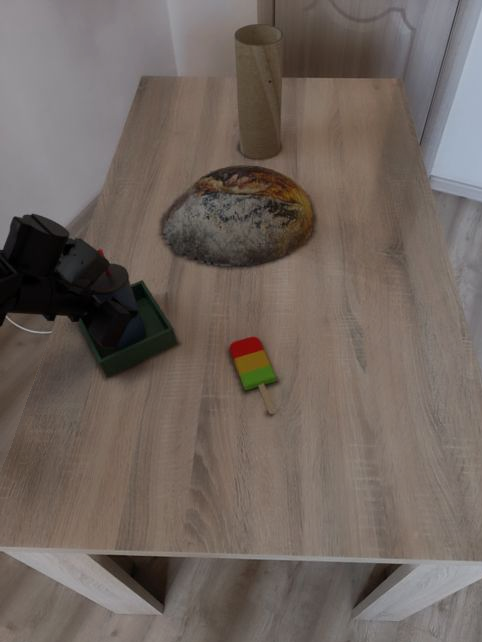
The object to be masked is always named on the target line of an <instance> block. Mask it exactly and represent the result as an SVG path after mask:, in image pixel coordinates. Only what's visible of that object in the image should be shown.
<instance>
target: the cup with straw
mask: <svg viewBox="0 0 482 642" xmlns="http://www.w3.org/2000/svg"><path fill="white" fill-rule="evenodd" d="M97 251H98V252H99V253H100V254H102V255H103V256H104V257H105V254H104V251H103V249H102V248H98V249H97ZM105 258H106V257H105ZM89 287H93V288H94V289H95V292H94V294H93V295H94V296H95V297H96V298H97V299H98V300H99V301H100V302H101V303H102V302H105V301H107V300H109V301H111V300H112V298H113V297H114V298H116V299H117V300H118V301H119V302H120V303H121V304H122V305H123V306H124V307H128V308H132V309H135V310H137V311H138V314H137V316H136V317H135V318H133V319H131V320H130V322H129V324H128V326H127V328H126V330H125V332H124V334H123V336H122V338H121V340H120V342H119V344H118V346H117V348H121V349H124V348H127V347H129V346H131V345H133V344H135V343H138V342H140V341H142V340H143V339H144V337H145V328H144V325H143V322H142V319H141V316H140V313H139V309H138V306H137V303H136V300H135V297H134V294H133V291H132V288H131V282H130V276H129V272H128V270H127V268H125V266H123V265H121V264H118V263H110V265H109V268H108V269H107V270H106V271H105V272H103V274H102V275H101V276H100V277H99V278H98V279H97V281H96V282H95V283H94V284H93V285H91V286H89Z"/></svg>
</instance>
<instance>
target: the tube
mask: <svg viewBox="0 0 482 642" xmlns="http://www.w3.org/2000/svg"><path fill="white" fill-rule="evenodd" d="M234 53H235V71H236V72H235V73H236V76H235V77H236V94H237V116H238V117H237V118H238V137H239V140H238V141H239V150H240V152H241V153H242V154H243V156H245V157H248V158H250V159H256V160H265V159H269V158H271V157H274V156H275V155H277V154H278V153H279V151H280V149H281V129H282V127H281V124H282V93H283V89H282V88H283V56H284V33H283V31H282V30H281V29H280V28H279V27H276V26H274V25H270V24H265V23H264V24H263V23H255V24H248V25H244V26H242V27H239V28H238V29H237V30H236V31H235V33H234Z"/></svg>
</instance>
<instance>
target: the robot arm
mask: <svg viewBox="0 0 482 642" xmlns="http://www.w3.org/2000/svg"><path fill="white" fill-rule="evenodd" d="M9 224H10V225H9V231H8V235H7V236H6V239H5V243H4V244H3V247H2V249H0V328H1V327H3V325H4V322H5V319H6V317H7V315H8V314H21V315H23V314H24V315H38V316H39V315H41V316H42V317H43V318H44V319H45V320H46V321H47V322H55V320H56V319H57V318H56V317H57V316H60V317H67V318H68V319H69V321H71V322H72V323H79V319H80V317H81V315H86V314H87V313H88V314H89V315H90V316H91V317H92V318H93V320H92V322H91V325H90V327H89V329H88V331H89V333H90V335H91V336H92V337H93V338H94V339H95V340H96V341H97V342H98V343H99V345H100V346H101V347H102V348H116V347H117V346H118V344H119V342H120V340H121V338H122V336H123V334H124V332H125V330H126V328H127V326H128V324H129V322H130V320H131V319H133V318H135V317H136V316H137V314H138V311H137V310H135V309H132V308H128V307H124V306H123V305H122V304H121V303H120V302H119V301H118V300H117V299H116V298H114V297H113V298H112V300H111V301H109V300H107V301H105V302H102V303H101V302H100V301H99V300H98V299H97V298H96V297H95V296H94V295H93V294H94V292H95V289H94V288H93V287H89V286H91V285H93V284H94V283H95V282H96V281H97V279H98V278H99V277H100V276H101V275H102V274H103V272H105V271H106V270H107V269H108V268H109V265H110V264H111V263H110V261H109V260H108V259H107V258H106V257H104V256H105V255H104V256H103V255H102V254H100V253H99V252H98V249H96V248H94V247H93V246H92V245H90V244H89V243H88V242H86V241H85V240H84V239H82V238H81V237H80V238H77V237H75V238H72V237H70V235H71V234H70V232H69V231H68V229H67V228H66V227H64V226H63V225H62V224H60V223H58V222H56V221H55V220H52V219H50V218H48V217H45V216H43V215H40V214H36V213H31V214H29V213H27V214H23V215H22V216H16V215H15V216H13V217H12V220H11V221H10V223H9Z"/></svg>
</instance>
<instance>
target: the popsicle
mask: <svg viewBox="0 0 482 642" xmlns="http://www.w3.org/2000/svg"><path fill="white" fill-rule="evenodd" d="M263 346H264V345H263V344H262V341H261V340H260V338H259V337H257V336H249V337H246V338H241V339H239V340H236V341H233V342H232V343H230V346H229V352H230V355H231V358H232V360H233V363H234V366H235V368H236V371H237V373H238V376H239V379H240V381H241V384H242V386H243V389H244V390H245V391H249V390H252V389H255V388H258V389H259V391H260V394H261V396H262V399H263V401H264V405H265V406H266V409H267V411H268V414H269V415H274V414H276V409H275V407H274V405H273V402H272V400H271V398H270V395H269V392H268V390H267V388H266V385H268V384H272V383H275V382H277V375H276V373H275V372H274V369H273V367H272V364H271V363H270V360H269V357H268V356H267V353H266V351H265V348H264V347H263Z"/></svg>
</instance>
